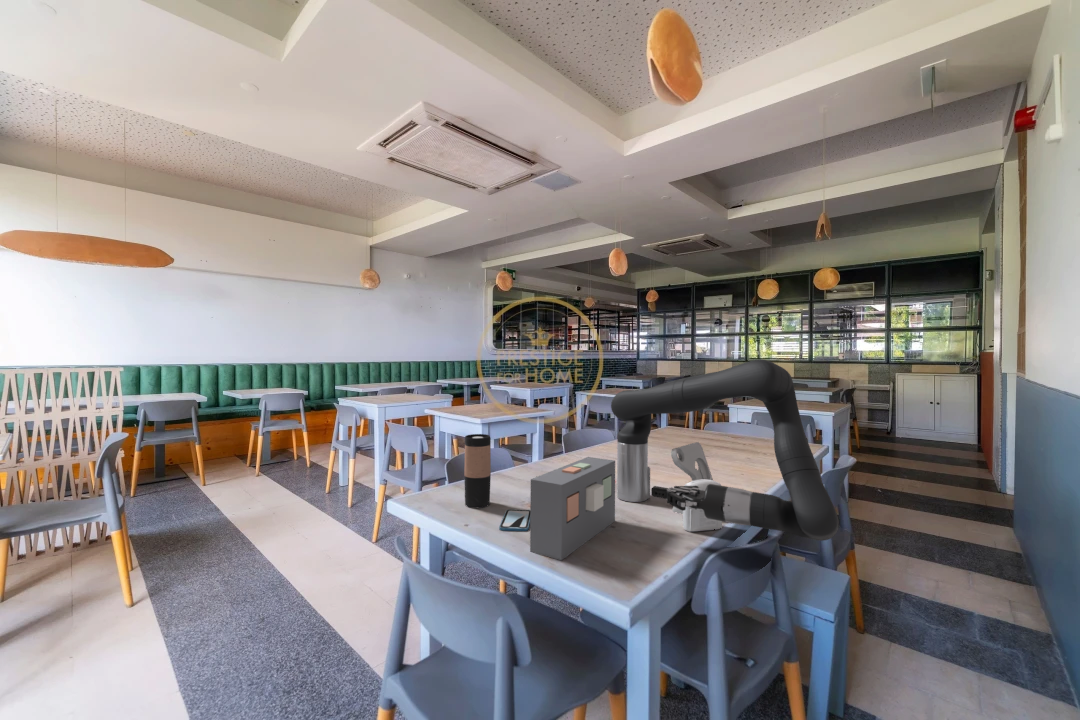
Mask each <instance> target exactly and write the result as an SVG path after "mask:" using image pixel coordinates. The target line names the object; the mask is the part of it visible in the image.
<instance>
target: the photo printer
mask: <svg viewBox="0 0 1080 720" xmlns="http://www.w3.org/2000/svg"><path fill="white" fill-rule="evenodd" d="M709 484H714V485H720V486H722V484H721V483H720V482H718V481H716V480H708V479H700V480H695V481H692V480H691V481H690V482H687V483H685V484H684V485H683V486H698V487H699V489H700V490H703V491H705V490H706V487H707V486H708V485H709ZM682 528H683V529H684V530H685V531H687V532H690V533H691V532H702V531H713V530H714V529H715V530H721V529H723V521H718V520H713V519H708V518H706V516H705V514H704V510H703V509H696V510H694V509H689V508H688V507H686V510H684V511H683V515H682ZM720 528H721V529H720Z"/></svg>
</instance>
